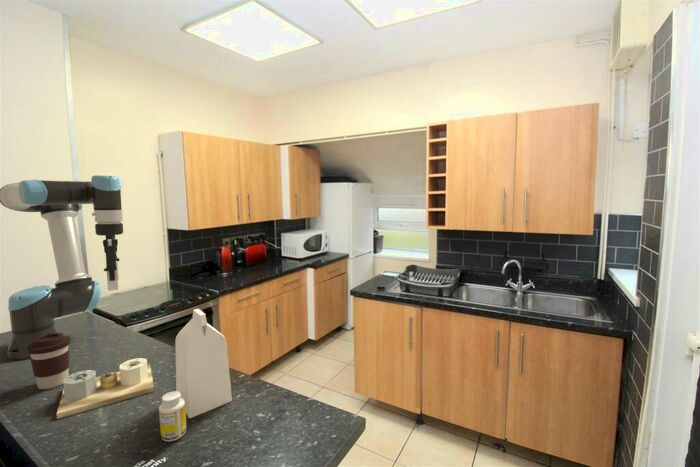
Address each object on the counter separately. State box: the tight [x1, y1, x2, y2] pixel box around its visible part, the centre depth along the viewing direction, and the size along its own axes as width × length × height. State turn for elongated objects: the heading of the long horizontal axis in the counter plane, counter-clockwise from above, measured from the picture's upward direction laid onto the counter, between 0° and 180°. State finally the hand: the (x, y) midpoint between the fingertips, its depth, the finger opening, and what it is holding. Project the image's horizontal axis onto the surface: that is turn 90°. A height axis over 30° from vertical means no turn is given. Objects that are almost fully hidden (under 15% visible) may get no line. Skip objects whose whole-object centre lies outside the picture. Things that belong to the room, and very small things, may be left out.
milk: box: [175, 308, 233, 419], centre depth 94 cm, size 12×12×26 cm
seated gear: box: [62, 369, 97, 401], centre depth 96 cm, size 7×7×5 cm
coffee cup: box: [27, 332, 71, 390], centre depth 103 cm, size 10×10×15 cm
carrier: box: [56, 363, 155, 420], centre depth 99 cm, size 16×22×7 cm
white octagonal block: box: [119, 357, 148, 386], centre depth 103 cm, size 7×7×5 cm
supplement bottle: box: [158, 390, 187, 442], centre depth 81 cm, size 6×6×10 cm
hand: (113, 284), depth 113 cm, fingers open, 13 cm apart
